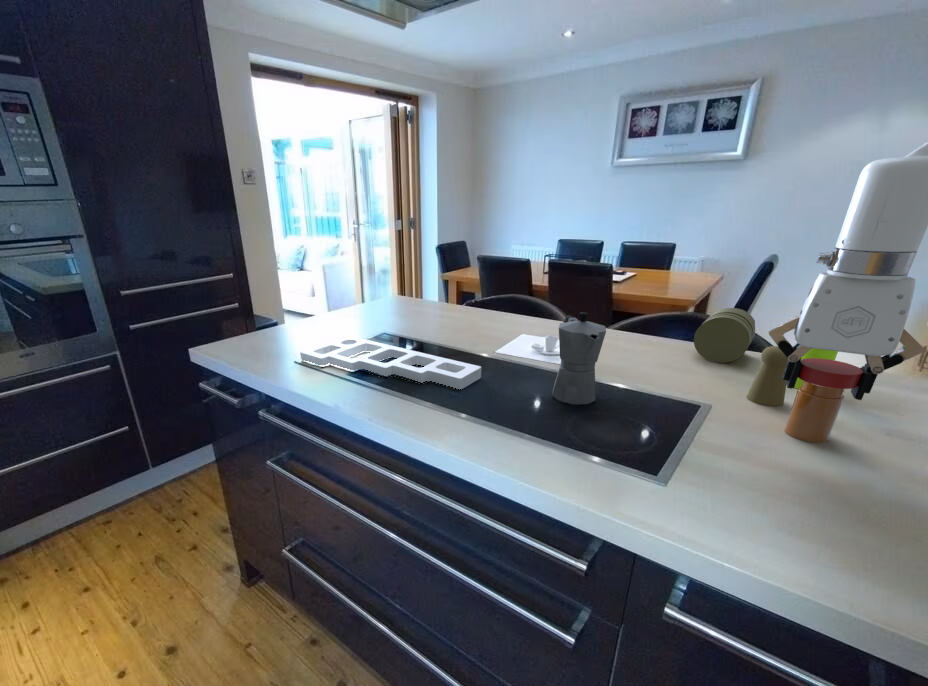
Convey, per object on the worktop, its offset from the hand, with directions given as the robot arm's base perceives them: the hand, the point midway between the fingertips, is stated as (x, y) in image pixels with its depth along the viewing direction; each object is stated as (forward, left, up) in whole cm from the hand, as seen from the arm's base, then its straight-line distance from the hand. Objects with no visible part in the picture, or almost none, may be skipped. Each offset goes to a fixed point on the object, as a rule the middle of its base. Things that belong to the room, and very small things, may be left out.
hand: (821, 389), depth 63 cm
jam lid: (0, 0, +3) cm, 3 cm away
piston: (+3, -52, -12) cm, 54 cm away
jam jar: (-4, -11, -12) cm, 17 cm away
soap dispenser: (-11, -36, -12) cm, 40 cm away
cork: (-1, -25, -12) cm, 28 cm away
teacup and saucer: (+46, -43, -12) cm, 64 cm away
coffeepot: (+35, -14, -12) cm, 40 cm away
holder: (+79, -13, -12) cm, 81 cm away
